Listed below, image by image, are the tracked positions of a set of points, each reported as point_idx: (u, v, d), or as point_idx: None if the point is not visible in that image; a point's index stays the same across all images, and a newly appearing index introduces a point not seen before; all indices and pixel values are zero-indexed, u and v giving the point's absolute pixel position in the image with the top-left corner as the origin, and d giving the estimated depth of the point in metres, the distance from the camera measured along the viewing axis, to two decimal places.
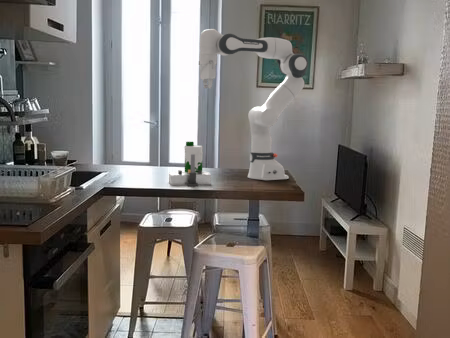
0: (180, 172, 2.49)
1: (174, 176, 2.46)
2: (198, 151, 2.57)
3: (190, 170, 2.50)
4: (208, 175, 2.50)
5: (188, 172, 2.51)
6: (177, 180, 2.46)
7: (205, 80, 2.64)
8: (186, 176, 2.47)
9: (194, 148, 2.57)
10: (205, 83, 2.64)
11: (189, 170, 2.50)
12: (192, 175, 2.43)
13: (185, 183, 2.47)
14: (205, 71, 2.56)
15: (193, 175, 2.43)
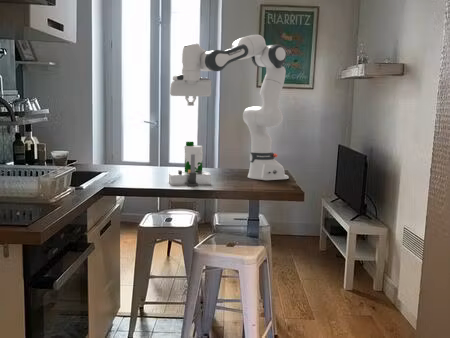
0: (180, 172, 2.49)
1: (174, 176, 2.46)
2: (198, 151, 2.57)
3: (190, 170, 2.50)
4: (208, 175, 2.50)
5: (188, 172, 2.51)
6: (177, 180, 2.46)
7: None
8: (186, 176, 2.47)
9: (194, 148, 2.57)
10: (188, 100, 2.46)
11: (189, 170, 2.50)
12: (192, 175, 2.43)
13: (185, 183, 2.47)
14: (195, 88, 2.44)
15: (193, 175, 2.43)
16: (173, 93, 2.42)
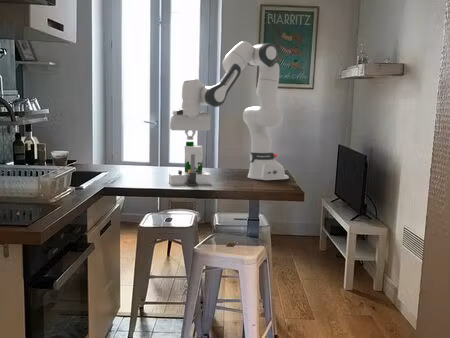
0: (180, 172, 2.49)
1: (174, 176, 2.46)
2: (198, 151, 2.57)
3: (190, 170, 2.50)
4: (208, 175, 2.50)
5: (188, 172, 2.51)
6: (177, 180, 2.46)
7: None
8: (186, 176, 2.47)
9: (194, 148, 2.57)
10: (187, 134, 2.48)
11: (189, 170, 2.50)
12: (192, 175, 2.43)
13: (185, 183, 2.47)
14: (195, 122, 2.47)
15: (193, 175, 2.43)
16: (173, 128, 2.44)
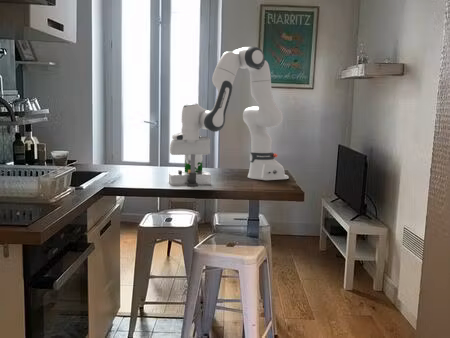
0: (180, 172, 2.49)
1: (174, 176, 2.46)
2: None
3: (190, 170, 2.50)
4: (208, 175, 2.50)
5: (188, 172, 2.51)
6: (177, 180, 2.46)
7: None
8: (186, 176, 2.47)
9: None
10: (187, 158, 2.50)
11: (189, 170, 2.50)
12: (192, 175, 2.43)
13: (185, 183, 2.47)
14: (194, 147, 2.48)
15: (193, 175, 2.43)
16: (173, 152, 2.46)
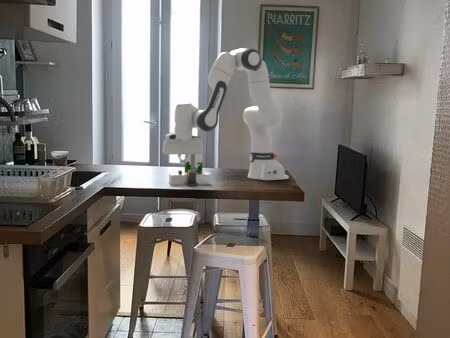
0: (180, 172, 2.49)
1: (174, 176, 2.46)
2: None
3: (190, 170, 2.50)
4: (208, 175, 2.50)
5: (188, 172, 2.51)
6: (177, 180, 2.46)
7: None
8: (186, 176, 2.47)
9: None
10: (180, 158, 2.49)
11: (189, 170, 2.50)
12: (192, 175, 2.43)
13: (185, 183, 2.47)
14: (187, 146, 2.47)
15: (193, 175, 2.43)
16: (165, 152, 2.45)
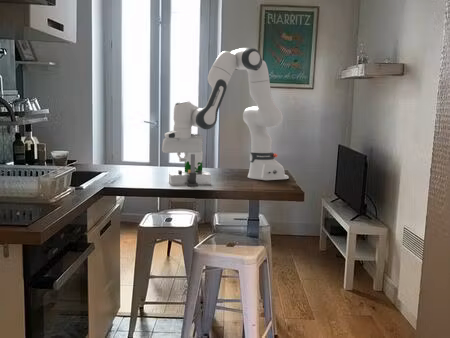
0: (180, 172, 2.49)
1: (174, 176, 2.46)
2: None
3: (190, 170, 2.50)
4: (208, 175, 2.50)
5: (188, 172, 2.51)
6: (177, 180, 2.46)
7: None
8: (186, 176, 2.47)
9: None
10: None
11: (189, 170, 2.50)
12: (192, 175, 2.43)
13: (185, 183, 2.47)
14: (187, 145, 2.47)
15: (193, 175, 2.43)
16: (165, 150, 2.45)
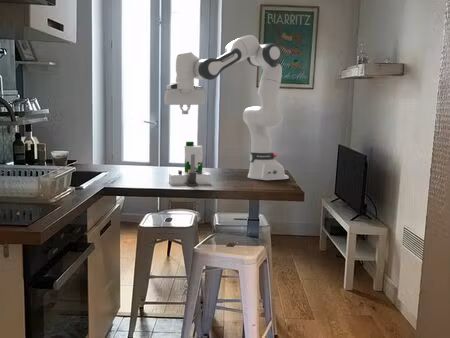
0: (180, 172, 2.49)
1: (174, 176, 2.46)
2: (198, 151, 2.57)
3: (190, 170, 2.50)
4: (208, 175, 2.50)
5: (188, 172, 2.51)
6: (177, 180, 2.46)
7: None
8: (186, 176, 2.47)
9: (194, 148, 2.57)
10: (182, 109, 2.46)
11: (189, 170, 2.50)
12: (192, 175, 2.43)
13: (185, 183, 2.47)
14: (189, 97, 2.44)
15: (193, 175, 2.43)
16: (167, 102, 2.41)
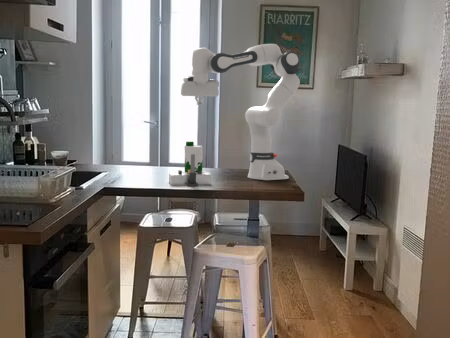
0: (180, 172, 2.49)
1: (174, 176, 2.46)
2: (198, 151, 2.57)
3: (190, 170, 2.50)
4: (208, 175, 2.50)
5: (188, 172, 2.51)
6: (177, 180, 2.46)
7: None
8: (186, 176, 2.47)
9: (194, 148, 2.57)
10: (197, 100, 2.67)
11: (189, 170, 2.50)
12: (192, 175, 2.43)
13: (185, 183, 2.47)
14: (204, 89, 2.66)
15: (193, 175, 2.43)
16: (184, 93, 2.63)
